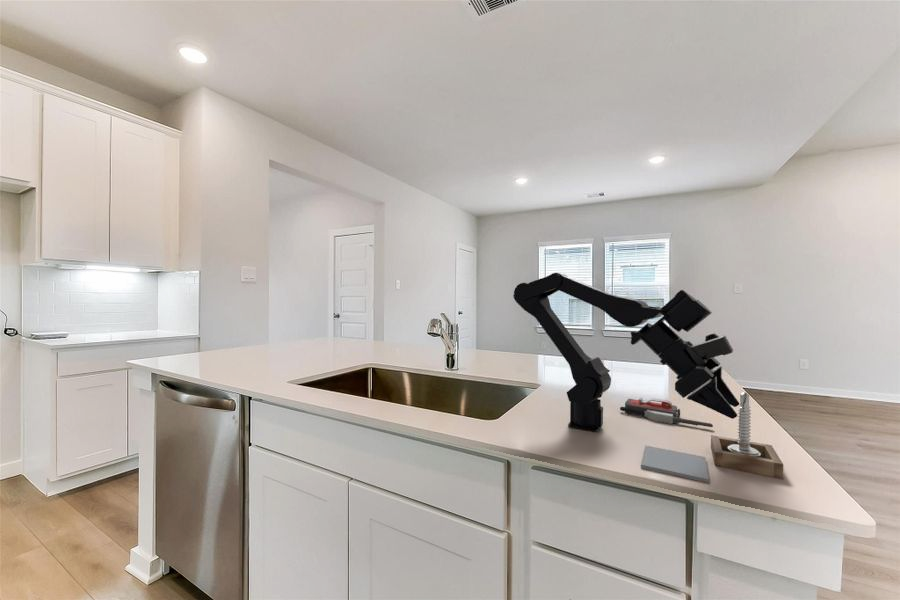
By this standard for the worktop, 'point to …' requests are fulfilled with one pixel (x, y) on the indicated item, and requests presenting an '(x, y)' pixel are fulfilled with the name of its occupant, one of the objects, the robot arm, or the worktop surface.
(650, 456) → the mat
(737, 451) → the screw
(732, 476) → the worktop surface
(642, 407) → the walkie-talkie
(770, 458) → the square wooden frame
